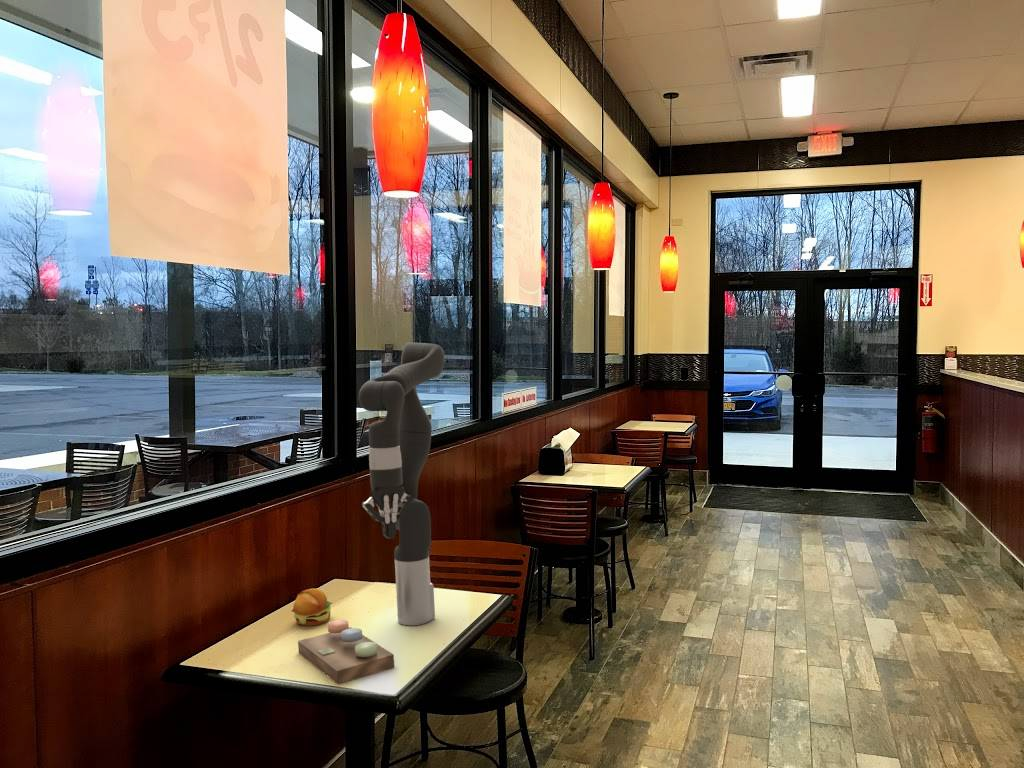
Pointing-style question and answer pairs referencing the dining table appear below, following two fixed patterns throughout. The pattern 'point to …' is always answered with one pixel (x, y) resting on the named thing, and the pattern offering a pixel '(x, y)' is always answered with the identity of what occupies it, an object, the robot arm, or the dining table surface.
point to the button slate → (351, 635)
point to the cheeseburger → (311, 607)
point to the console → (343, 657)
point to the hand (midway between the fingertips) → (389, 537)
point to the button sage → (366, 649)
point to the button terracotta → (337, 626)
